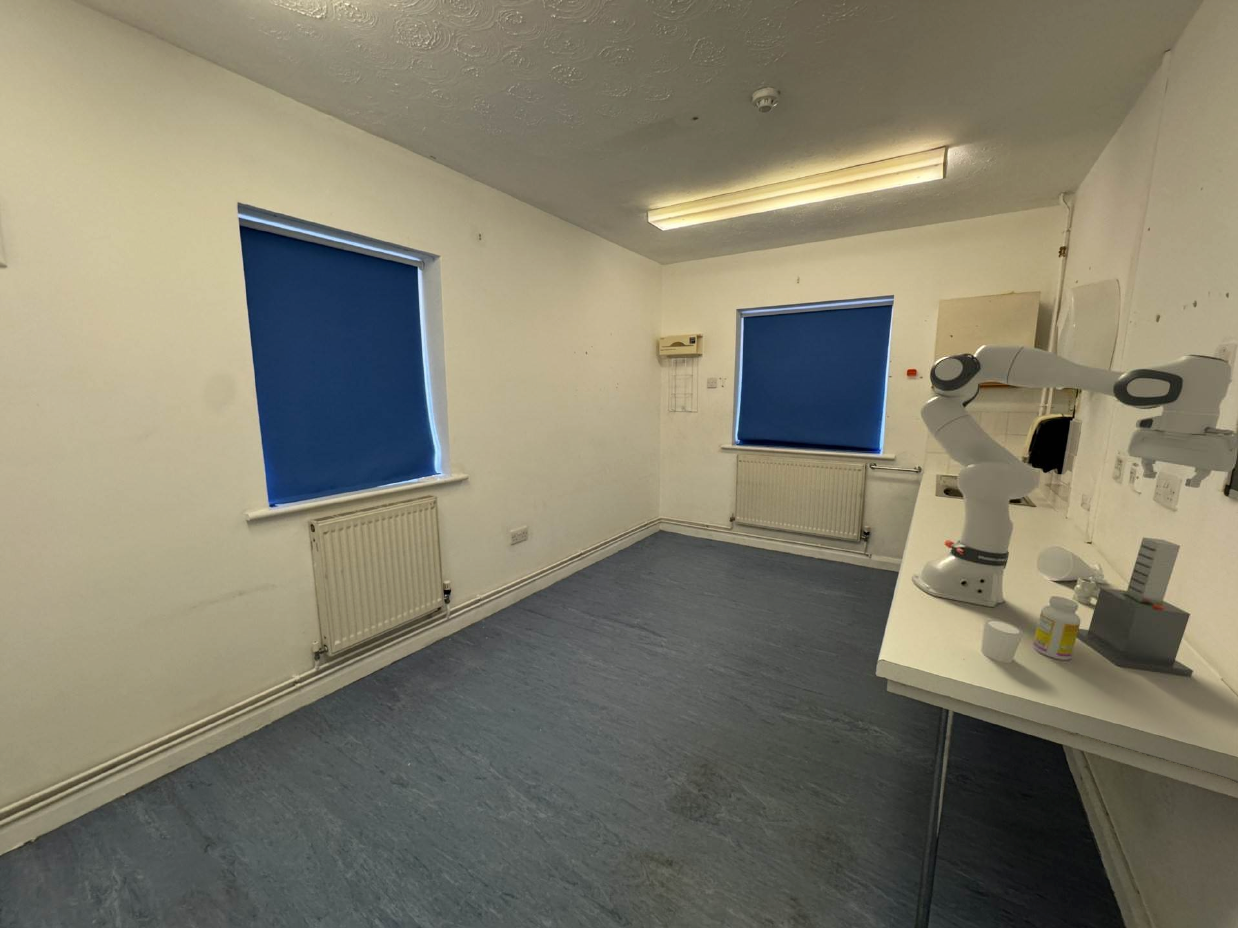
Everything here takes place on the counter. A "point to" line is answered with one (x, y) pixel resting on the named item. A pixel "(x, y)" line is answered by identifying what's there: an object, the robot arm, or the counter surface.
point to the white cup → (1000, 640)
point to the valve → (1085, 591)
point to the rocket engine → (1066, 566)
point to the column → (1152, 571)
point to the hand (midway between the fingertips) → (1169, 482)
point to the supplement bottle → (1057, 628)
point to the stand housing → (1137, 633)
